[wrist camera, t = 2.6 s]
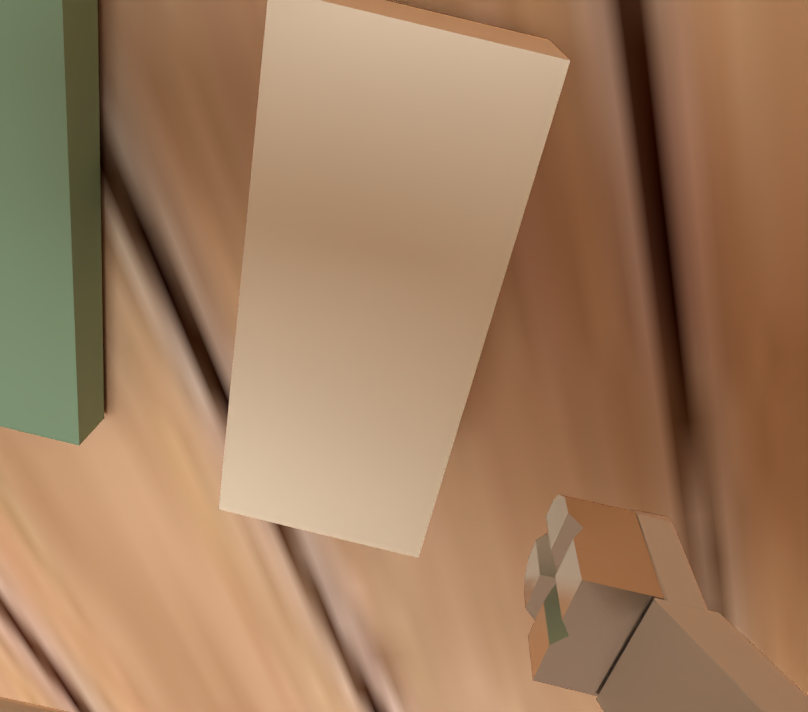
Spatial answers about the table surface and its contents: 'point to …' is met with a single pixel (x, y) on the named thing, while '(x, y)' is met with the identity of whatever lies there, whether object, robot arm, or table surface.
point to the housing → (374, 256)
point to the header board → (50, 219)
